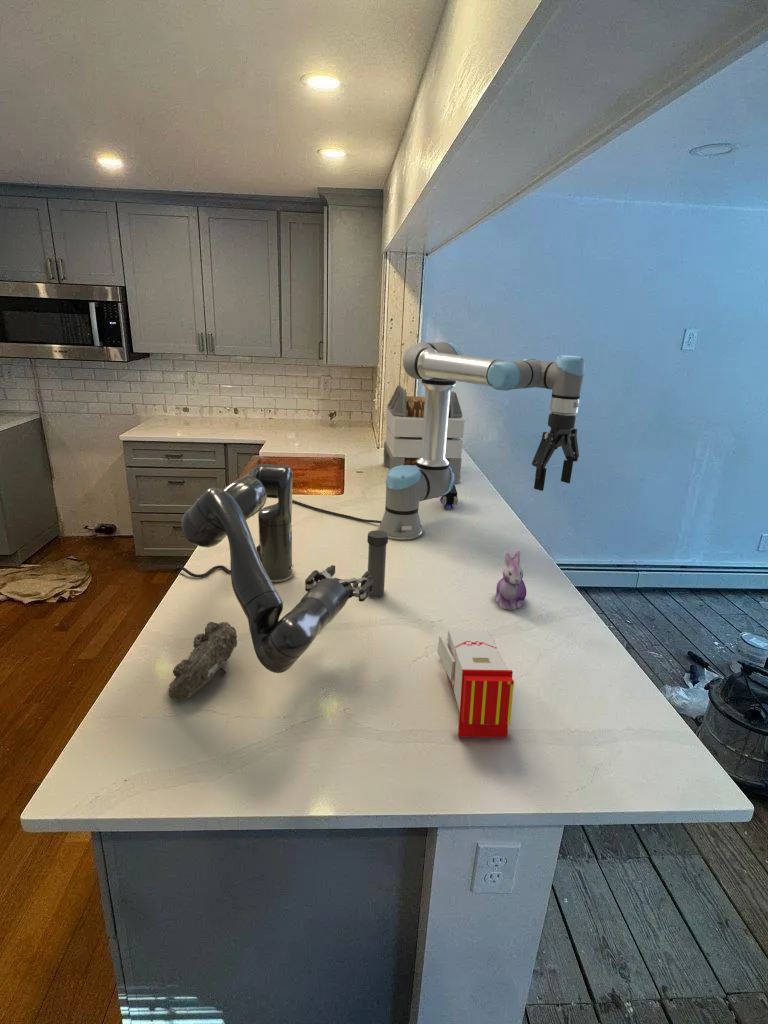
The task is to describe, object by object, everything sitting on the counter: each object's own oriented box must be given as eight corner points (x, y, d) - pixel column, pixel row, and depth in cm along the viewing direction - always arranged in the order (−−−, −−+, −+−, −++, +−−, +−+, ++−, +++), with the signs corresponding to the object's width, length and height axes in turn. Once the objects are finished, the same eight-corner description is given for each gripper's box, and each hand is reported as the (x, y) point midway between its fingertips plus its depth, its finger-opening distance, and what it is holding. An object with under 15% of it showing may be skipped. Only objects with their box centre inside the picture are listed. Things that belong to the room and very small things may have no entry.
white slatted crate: (382, 463, 289) (386, 382, 275) (445, 464, 293) (451, 384, 279) (390, 482, 257) (394, 392, 243) (460, 483, 261) (468, 394, 247)
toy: (488, 613, 130) (523, 677, 101) (484, 667, 133) (517, 744, 104) (435, 612, 130) (455, 676, 101) (432, 666, 133) (451, 743, 103)
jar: (367, 597, 155) (369, 539, 149) (366, 589, 159) (368, 532, 153) (384, 597, 155) (387, 539, 150) (383, 589, 160) (385, 532, 154)
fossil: (191, 624, 130) (237, 594, 125) (220, 652, 133) (266, 624, 128) (146, 693, 111) (199, 661, 106) (181, 724, 114) (234, 694, 109)
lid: (368, 546, 149) (368, 537, 149) (366, 538, 154) (367, 530, 154) (388, 546, 150) (389, 538, 149) (386, 538, 155) (387, 530, 154)
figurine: (508, 614, 149) (515, 562, 144) (485, 597, 158) (490, 547, 153) (536, 607, 153) (543, 557, 148) (511, 591, 162) (518, 542, 157)
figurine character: (457, 514, 225) (453, 498, 239) (459, 497, 222) (455, 481, 236) (441, 513, 225) (437, 497, 239) (442, 496, 222) (439, 481, 235)
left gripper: (291, 613, 119) (322, 581, 134) (354, 626, 115) (379, 591, 130) (290, 581, 117) (322, 552, 131) (355, 593, 113) (380, 561, 127)
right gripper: (548, 419, 148) (537, 496, 155) (598, 411, 163) (586, 482, 171) (525, 414, 153) (515, 489, 160) (575, 407, 169) (564, 476, 176)
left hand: (351, 572), depth 131 cm, fingers open, 8 cm apart
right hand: (552, 485), depth 166 cm, fingers open, 13 cm apart
